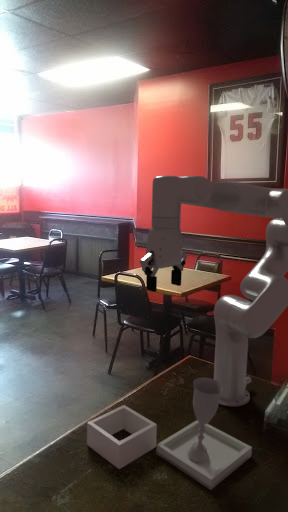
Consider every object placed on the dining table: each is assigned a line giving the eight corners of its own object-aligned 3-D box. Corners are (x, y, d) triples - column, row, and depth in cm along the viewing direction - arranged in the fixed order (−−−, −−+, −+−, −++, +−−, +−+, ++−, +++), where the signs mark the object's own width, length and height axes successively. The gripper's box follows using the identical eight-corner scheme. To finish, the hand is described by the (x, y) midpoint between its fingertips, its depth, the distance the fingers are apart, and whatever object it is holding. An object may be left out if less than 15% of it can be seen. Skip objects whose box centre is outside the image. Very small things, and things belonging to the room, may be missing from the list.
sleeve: (123, 425, 109) (124, 404, 108) (156, 446, 100) (156, 424, 99) (87, 444, 100) (87, 422, 99) (119, 469, 92) (119, 445, 91)
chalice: (211, 469, 92) (222, 396, 88) (181, 462, 93) (191, 390, 89) (213, 448, 99) (223, 380, 95) (185, 442, 100) (194, 375, 96)
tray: (198, 427, 109) (198, 419, 108) (251, 456, 97) (251, 447, 97) (156, 454, 97) (156, 444, 97) (210, 490, 86) (211, 479, 86)
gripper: (176, 221, 115) (174, 280, 118) (131, 224, 103) (130, 290, 106) (197, 223, 110) (195, 285, 113) (153, 227, 98) (151, 296, 101)
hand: (164, 287), depth 109 cm, fingers open, 9 cm apart
